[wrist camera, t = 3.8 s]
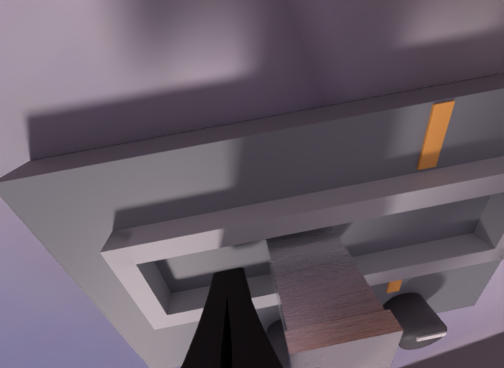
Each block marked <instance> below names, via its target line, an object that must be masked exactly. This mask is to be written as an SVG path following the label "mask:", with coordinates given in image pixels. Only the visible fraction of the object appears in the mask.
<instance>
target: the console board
mask: <svg viewBox="0 0 504 368" xmlns="http://www.w3.org/2000/svg"><path fill="white" fill-rule="evenodd" d="M0 196H1V198H2V199H3V200H4V201H5V202H6V203H7V204H8V206H9V207H10V208H11V209H12V210H13V211H14V212H15V214H16V215H17V216H18V217H19V218H20V219H21V220H22V222H23V223H24V224H25V225H26V226H27V227H28V228H29V230H30V231H31V232H32V233H33V234H34V235H35V236H36V238H37V239H38V240H39V241H40V242H41V243H42V245H43V246H44V247H45V248H46V249H47V250H48V251H49V253H50V254H51V255H52V256H53V257H54V258H55V259H56V261H57V262H58V263H59V264H60V265H61V266H62V267H63V269H64V270H65V271H66V272H67V273H68V274H69V275H70V277H71V278H72V279H73V280H74V281H75V282H76V283H77V285H78V286H79V287H80V288H81V289H82V290H83V292H84V293H85V294H86V295H87V296H88V297H89V298H90V300H91V301H92V302H93V303H94V304H95V305H96V306H97V308H98V309H99V310H100V311H101V312H102V313H103V314H104V316H105V317H106V318H107V319H108V320H109V321H110V322H111V324H112V325H113V326H114V327H115V328H116V329H117V330H118V332H119V333H120V334H121V335H122V336H123V337H124V339H125V340H126V341H127V342H128V343H129V344H130V345H131V347H132V348H133V349H134V350H135V351H136V352H137V353H138V355H139V356H140V357H141V358H142V359H143V360H144V361H145V363H146V364H147V365H148V366H149V367H150V368H175V367H180V366H182V364H183V361H184V359H185V357H186V354H187V352H188V349H189V347H190V344H191V342H192V339H193V337H194V334H195V332H196V329H197V326H198V323H199V320H200V318H201V315H202V312H203V309H204V306H205V303H206V299H207V296H208V293H209V289H210V285H211V281H212V277H213V274H214V273H215V272H219V271H224V270H229V269H234V268H239V267H242V268H244V270H245V274H246V278H247V282H248V285H249V289H250V293H251V299H252V302H253V304H254V307H255V309H256V312H257V314H258V317H259V319H260V321H261V324H262V326H263V328H264V330H265V332H266V335H267V337H268V339H269V341H270V343H271V345H272V347H273V349H274V351H275V353H276V355H277V357H278V359H279V361H280V362H281V364H282V366H283V368H290V366H289V359H288V353H287V346H286V339H285V334H284V329H283V325H282V321H281V316H280V312H279V307H278V303H277V298H276V294H275V289H274V285H273V280H272V276H271V270H270V264H269V258H268V252H267V246H266V240H265V239H268V238H273V237H278V236H284V235H289V234H294V233H299V232H304V231H309V230H314V229H319V228H324V227H329V226H332V227H333V228H334V230H335V231H336V233H337V235H338V236H339V238H340V239H341V241H342V243H343V244H344V246H345V247H346V249H347V251H348V252H349V254H350V255H351V257H352V258H353V260H354V262H355V263H356V265H357V266H358V268H359V270H360V271H361V273H362V274H363V276H364V278H365V279H366V281H367V282H368V284H369V286H370V287H371V289H372V290H373V292H374V294H375V295H376V297H377V298H378V300H379V301H380V303H381V305H382V306H383V308H384V309H385V310H389V309H390V310H391V312H392V313H393V315H394V317H395V318H396V320H397V321H398V323H399V324H400V326H401V327H402V329H403V330H404V331H403V334H402V336H401V339H400V342H399V344H398V345H399V346H400V347H401V348H402V349H407V350H412V349H418V348H422V347H425V346H428V345H430V344H432V343H434V342H436V341H437V340H439V339H440V338H441V337H443V336H445V335H446V333H447V332H446V331H447V326H446V325H445V324H444V323H443V322H442V320H441V319H440V318H439V317H438V315H437V314H436V313H440V312H445V311H449V310H454V309H459V308H464V307H469V306H474V305H475V303H476V302H477V300H478V298H479V297H480V295H481V293H482V292H483V290H484V289H485V287H486V285H487V284H488V282H489V280H490V279H491V277H492V275H493V274H494V272H495V270H496V269H497V267H498V265H499V264H500V262H501V261H502V259H504V73H503V74H498V75H492V76H487V77H482V78H476V79H471V80H465V81H460V82H454V83H449V84H444V85H438V86H433V87H427V88H422V89H417V90H411V91H406V92H400V93H395V94H389V95H384V96H379V97H373V98H368V99H362V100H357V101H352V102H346V103H341V104H335V105H330V106H325V107H319V108H314V109H308V110H303V111H297V112H292V113H287V114H281V115H276V116H270V117H265V118H260V119H254V120H249V121H243V122H238V123H233V124H227V125H222V126H216V127H211V128H205V129H200V130H195V131H189V132H184V133H178V134H173V135H168V136H162V137H157V138H151V139H146V140H141V141H135V142H130V143H124V144H119V145H113V146H108V147H103V148H97V149H92V150H86V151H81V152H76V153H70V154H65V155H59V156H54V157H49V158H43V159H38V160H32V161H29V162H27V163H25V164H23V165H22V166H20V167H18V168H17V169H15V170H13V171H11V172H10V173H8V174H6V175H5V176H3V177H1V178H0Z"/></svg>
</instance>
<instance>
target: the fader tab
mask: <svg viewBox="0 0 504 368" xmlns="http://www.w3.org/2000/svg"><path fill="white" fill-rule="evenodd" d="M265 240H266V246H267V252H268V258H269V264H270V270H271V276H272V280H273V285H274V289H275V294H276V298H277V303H278V307H279V312H280V316H281V321H282V325H283V329H284V334H285V339H286V346H287V353H288V359H289V366H290V368H390V366H391V363H392V361H393V358H394V355H395V353H396V350H397V347H398V344H399V342H400V339H401V336H402V334H403V331H404V330H403V329H402V327H401V326H400V324H399V323H398V321H397V320H396V318H395V317H394V315H393V313H392V312H391V310H390V309H389V310H385V309H384V308H383V306H382V305H381V303H380V301H379V300H378V298H377V297H376V295H375V294H374V292H373V290H372V289H371V287H370V286H369V284H368V282H367V281H366V279H365V278H364V276H363V274H362V273H361V271H360V270H359V268H358V266H357V265H356V263H355V262H354V260H353V258H352V257H351V255H350V254H349V252H348V251H347V249H346V247H345V246H344V244H343V243H342V241H341V239H340V238H339V236H338V235H337V233H336V231H335V230H334V228H333V227H332V226H329V227H324V228H319V229H314V230H309V231H304V232H299V233H294V234H289V235H284V236H278V237H273V238H268V239H265Z"/></svg>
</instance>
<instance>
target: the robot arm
mask: <svg viewBox="0 0 504 368" xmlns="http://www.w3.org/2000/svg"><path fill="white" fill-rule="evenodd" d="M181 368H283V366H282V364H281V362H280V361H279V359H278V357H277V355H276V353H275V351H274V349H273V347H272V345H271V343H270V341H269V339H268V337H267V335H266V332H265V330H264V328H263V326H262V324H261V321H260V319H259V317H258V314H257V312H256V309H255V307H254V304H253V302H252V299H251V293H250V289H249V285H248V282H247V278H246V274H245V270H244V268H242V267H239V268H234V269H229V270H224V271H219V272H215V273H214V274H213V277H212V281H211V285H210V289H209V293H208V296H207V299H206V303H205V306H204V309H203V312H202V315H201V318H200V320H199V323H198V326H197V329H196V332H195V334H194V337H193V339H192V342H191V344H190V347H189V349H188V352H187V354H186V357H185V359H184V361H183V364H182V366H181Z"/></svg>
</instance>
